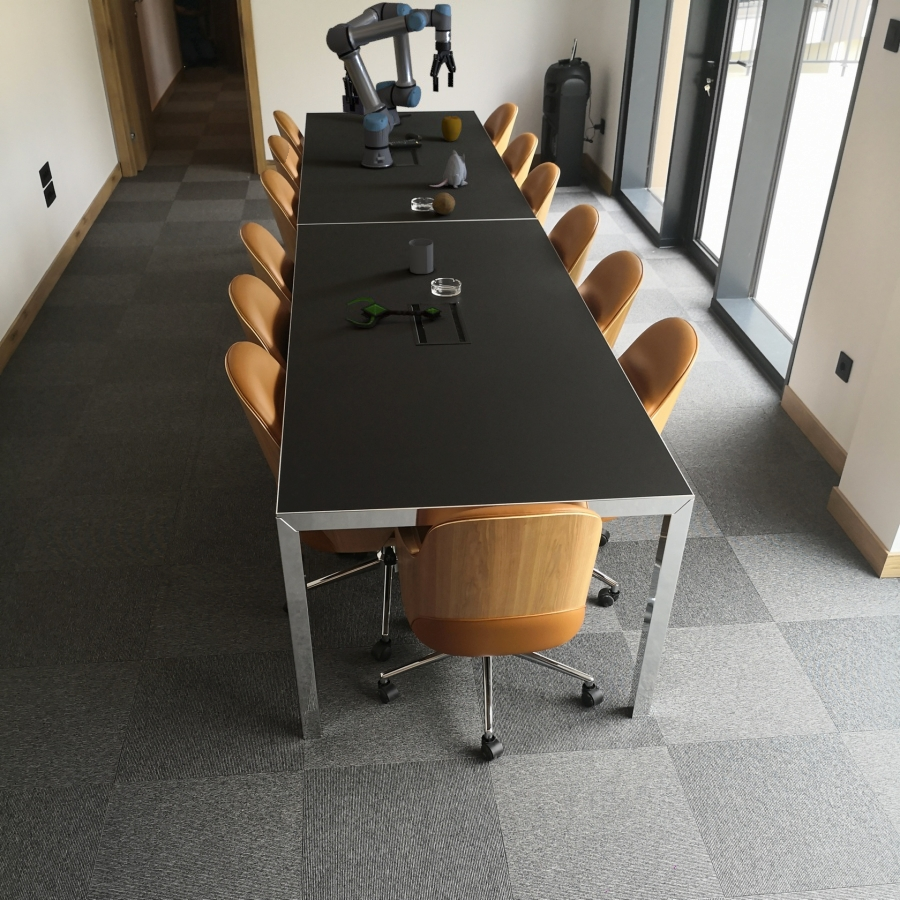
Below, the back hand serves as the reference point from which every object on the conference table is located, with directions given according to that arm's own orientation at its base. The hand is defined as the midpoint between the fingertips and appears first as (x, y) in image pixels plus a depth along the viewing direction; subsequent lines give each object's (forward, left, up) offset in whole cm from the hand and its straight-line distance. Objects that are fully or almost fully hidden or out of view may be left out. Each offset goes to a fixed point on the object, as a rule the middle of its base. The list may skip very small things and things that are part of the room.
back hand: (354, 110), depth 448 cm
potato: (+98, +74, -18) cm, 124 cm away
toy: (+62, +66, -18) cm, 92 cm away
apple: (-27, +45, -18) cm, 56 cm away
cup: (+163, +82, -18) cm, 183 cm away
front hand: (+14, +51, +15) cm, 55 cm away
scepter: (+207, +86, -18) cm, 224 cm away
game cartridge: (0, 0, -2) cm, 2 cm away
